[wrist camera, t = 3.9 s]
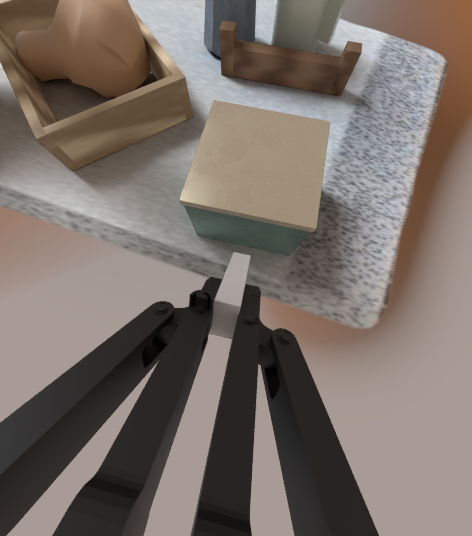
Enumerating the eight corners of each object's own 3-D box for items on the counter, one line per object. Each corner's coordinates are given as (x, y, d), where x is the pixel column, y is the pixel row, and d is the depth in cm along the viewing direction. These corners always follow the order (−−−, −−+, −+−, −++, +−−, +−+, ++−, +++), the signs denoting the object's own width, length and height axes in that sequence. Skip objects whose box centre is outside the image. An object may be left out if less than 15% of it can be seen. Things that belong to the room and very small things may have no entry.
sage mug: (262, 48, 33) (272, -46, 25) (287, 26, 35) (305, -71, 26) (310, 74, 32) (339, -17, 23) (334, 49, 34) (369, -44, 25)
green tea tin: (196, 236, 24) (179, 200, 17) (219, 161, 27) (213, 100, 20) (289, 257, 24) (316, 229, 16) (302, 177, 27) (330, 121, 19)
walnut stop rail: (221, 74, 32) (219, 29, 27) (224, 66, 32) (222, 20, 27) (340, 96, 31) (361, 52, 26) (341, 87, 31) (362, 43, 26)
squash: (156, 110, 29) (109, 37, 20) (52, 116, 33) (-28, 55, 24) (164, 45, 30) (121, -54, 21) (60, 57, 33) (-15, -24, 24)
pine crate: (13, 52, 32) (-26, 6, 27) (119, 16, 35) (100, -32, 30) (72, 171, 26) (35, 138, 22) (193, 116, 29) (185, 77, 24)
